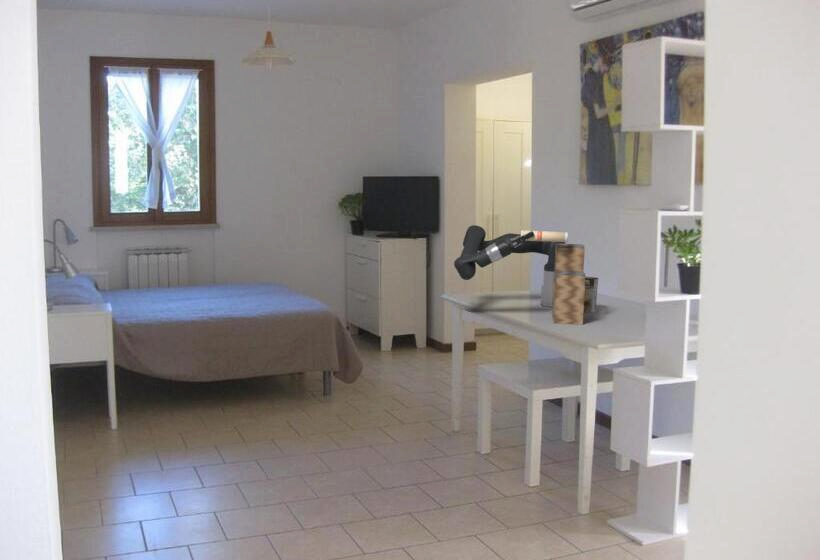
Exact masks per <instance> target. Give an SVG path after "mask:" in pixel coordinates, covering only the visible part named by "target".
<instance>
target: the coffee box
mask: <svg viewBox="0 0 820 560" xmlns="http://www.w3.org/2000/svg"><path fill="white" fill-rule="evenodd" d="M598 286H599V277H594V276H586V275H585V293H584V311H583V312H586V313H594V312H596V311H597V303H598V302H597V300H598V299H597V298H598Z"/></svg>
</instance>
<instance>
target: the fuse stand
mask: <svg viewBox="0 0 820 560" xmlns="http://www.w3.org/2000/svg"><path fill="white" fill-rule="evenodd" d="M585 253H586V252H585V245H584V244H581V243H565V244H560V243H556V247H555V266H554V286H553V305H552V307H551V309H552V310H551V311H552V312H551V318H552V320H553V324H556V323H560V324H562V325H577V324H579V325H581V326H582V325H583V324H584V312H585V311H584V293H585V276H586V273H585V271H584V267H585V266H584V265H585ZM560 324H559V325H560Z"/></svg>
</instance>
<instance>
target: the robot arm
mask: <svg viewBox="0 0 820 560" xmlns="http://www.w3.org/2000/svg"><path fill="white" fill-rule="evenodd" d="M530 231H531V232H529V233H527V234H525V235H523V236H521V233H512V232H510V233H505V234H502V235H500V236H498V237H496V238H493V239H489V240H485V239H486V235H487V234H486V233H487V232H486V230H485V229H484V228H483V227H482V226H479V225H474V224H473V225H470V226H468V228H467V229H466V232H465V236H464V238H463V242H462V245H463V249H462V250H461V253H460V256H459V257H457V258H455V260H454V262H453V266H454V268H455V269H456V272H457V274H458V275H459V276H460V278H461V279H462V280H464V281H469V280H471V279H473V278H474V276H476V272H477V267H476V265H478V267H479V268H485V267H487V266H489V265H491V264H493V263H495V262H498V261H500V260H502V259H504V258H505V257H508V256H510V255H511V254H528V253H534V254H535V253H536V254H540V255H545V256H547V257H548V258H547V261H546V262H545V264H544V266H543V279H542V280H543V281H542V282H543V285H541V291H540V305H541V306H544V307H550V308H552V305H553V286H554V266H555V247H556V243H560V244H566V242H548V241H526V240H527V239H529V238H531V237H533V236H534V233H533V231H534V230H530ZM521 239H522V240H523V241H522V240H521Z"/></svg>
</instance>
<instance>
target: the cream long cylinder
mask: <svg viewBox="0 0 820 560" xmlns="http://www.w3.org/2000/svg"><path fill="white" fill-rule="evenodd" d="M532 231H533V233H534V236H533V237H531V238H529V239H527V240H526V241H548V242H565V243H568V241H569V240H568V239H569V233H568V231H549V230H547V231H546V230H532ZM529 232H531V230H529V229H528V230H526V229H525V230H524V229H522V230H520V234H521V236H523V235H525V234H527V233H529ZM521 240H522V239H521ZM522 241H523V240H522Z"/></svg>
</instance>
